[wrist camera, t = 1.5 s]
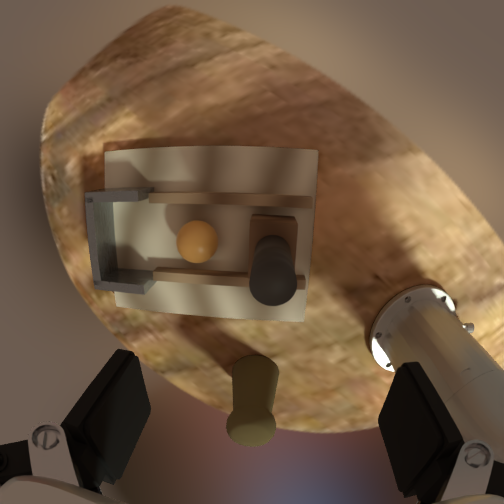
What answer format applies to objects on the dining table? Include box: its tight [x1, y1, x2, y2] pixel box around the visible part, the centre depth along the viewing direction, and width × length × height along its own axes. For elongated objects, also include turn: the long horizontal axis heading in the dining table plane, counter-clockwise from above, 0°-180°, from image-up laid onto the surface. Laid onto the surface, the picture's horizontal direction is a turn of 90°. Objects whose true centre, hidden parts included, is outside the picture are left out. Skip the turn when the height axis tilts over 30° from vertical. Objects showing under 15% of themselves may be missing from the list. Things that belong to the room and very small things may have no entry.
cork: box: [226, 355, 279, 446], centre depth 30 cm, size 6×6×11 cm
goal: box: [85, 187, 157, 295], centre depth 28 cm, size 6×10×4 cm, turn 178°
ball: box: [176, 220, 218, 263], centre depth 27 cm, size 4×4×4 cm
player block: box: [248, 214, 298, 306], centre depth 24 cm, size 4×5×11 cm
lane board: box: [105, 146, 318, 322], centre depth 29 cm, size 22×18×3 cm
